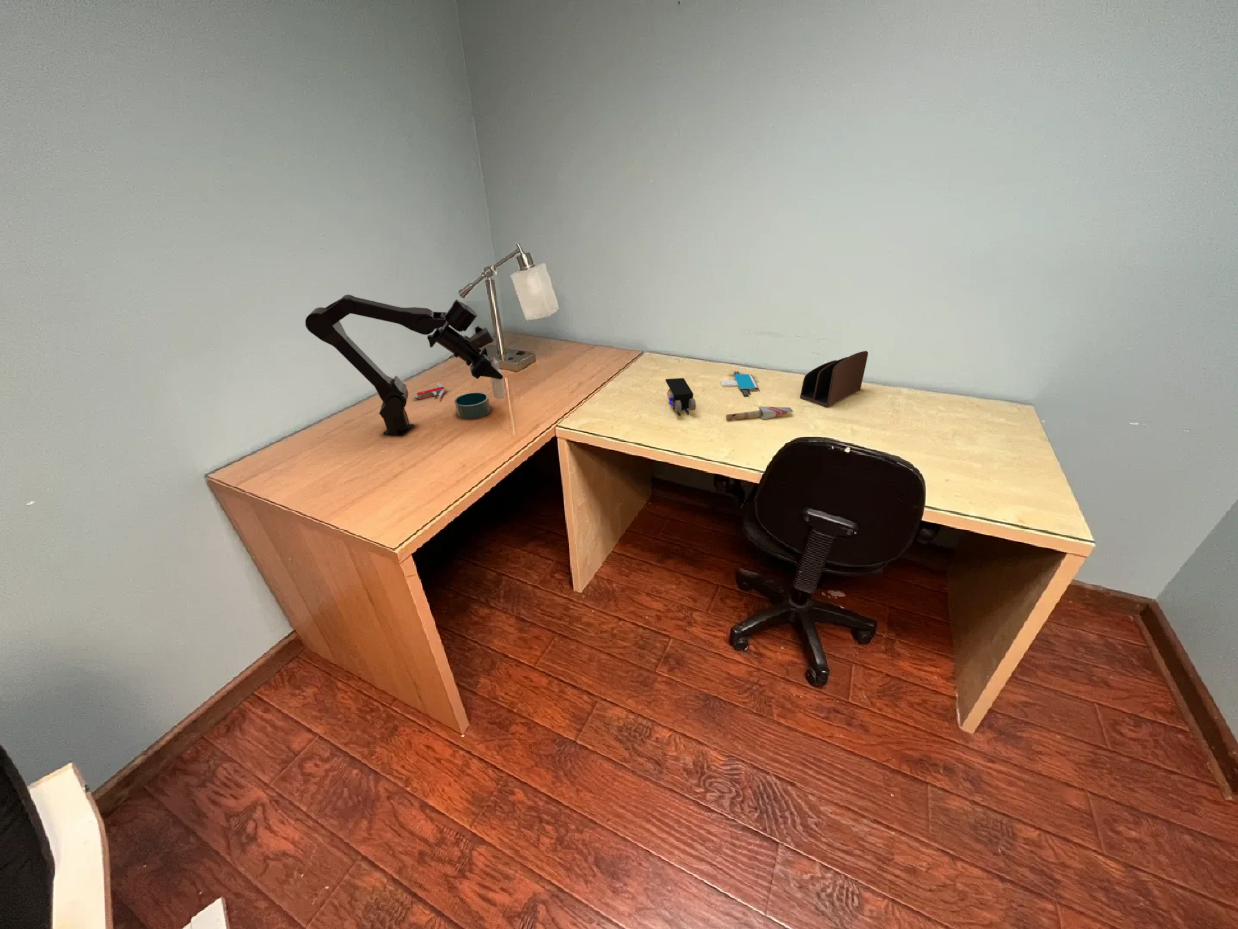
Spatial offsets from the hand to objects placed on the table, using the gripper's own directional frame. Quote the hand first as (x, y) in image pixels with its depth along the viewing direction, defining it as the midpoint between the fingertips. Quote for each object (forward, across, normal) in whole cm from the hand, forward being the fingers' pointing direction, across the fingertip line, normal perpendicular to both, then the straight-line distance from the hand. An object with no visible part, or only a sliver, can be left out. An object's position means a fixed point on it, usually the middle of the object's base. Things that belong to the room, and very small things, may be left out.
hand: (500, 374), depth 148 cm
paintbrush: (+58, -34, -41) cm, 78 cm away
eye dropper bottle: (+4, 0, +6) cm, 7 cm away
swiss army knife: (-6, +24, +26) cm, 36 cm away
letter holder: (+79, -29, -62) cm, 105 cm away
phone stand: (+63, -10, -46) cm, 79 cm away
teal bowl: (+2, +5, +16) cm, 17 cm away
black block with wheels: (+45, -18, -27) cm, 56 cm away
